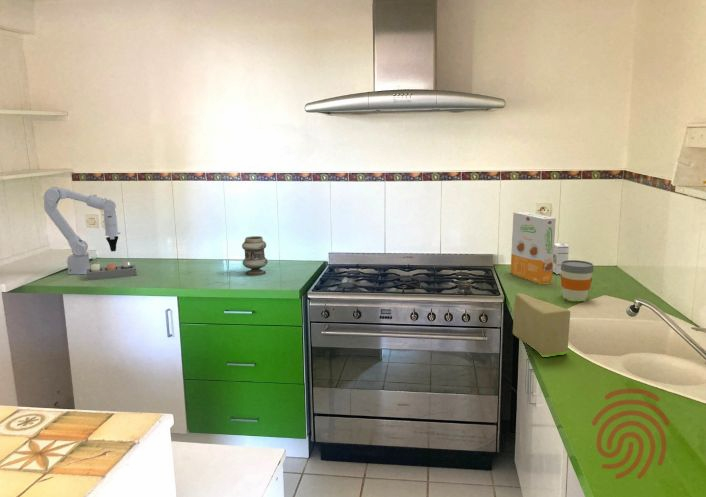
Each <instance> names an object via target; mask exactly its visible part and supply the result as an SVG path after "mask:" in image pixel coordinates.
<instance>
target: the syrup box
mask: <svg viewBox="0 0 706 497" xmlns="http://www.w3.org/2000/svg"><path fill="white" fill-rule="evenodd" d="M569 249H570V245H568V244H566V243H564V242H563V243H561V242H560V243H558V242H557V243H554V254H553V269H552V271H553V272H555V273H556V274H558V273H562V271H561V264H562V262H563V261H567V260H569V252H570V251H569ZM553 272H552V273H553ZM556 274H555V275H556Z"/></svg>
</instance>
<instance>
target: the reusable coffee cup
mask: <svg viewBox="0 0 706 497" xmlns="http://www.w3.org/2000/svg"><path fill="white" fill-rule="evenodd" d="M561 271H562V275H560V284H561V287H562V298H563V297H564V298H567V299H574V300H583V299H586V298H588V295H589V290H591V285H592V280H593V277H592V276H593V273H594V264H593V263H592V262H589V261H585V260H576V259H575V260H573V259H572V260H571V259H568V260H567V261H563V262H562V264H561ZM564 298H563V299H564ZM586 300H587V299H586Z"/></svg>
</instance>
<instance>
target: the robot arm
mask: <svg viewBox="0 0 706 497" xmlns="http://www.w3.org/2000/svg"><path fill="white" fill-rule="evenodd" d="M64 199H71V200H74V201H79V202H81V203H85V204H86V206H87V207H89V208H92V209H93V208H94V209H97V210H100V211H103V213H104V216H103V218H104V219H103V220H104V231H105V234H104V235H105V236H107V237H105V239H106V241H107V243H108V246H109V250H110V251H111V252H116V251H117V243H118V240H119V236H118V235H121V232H119V231H118V229H119V228H118V220H117V211H116V208H117V206H116V205H117V204H116V203H115V201H114V200H112V199H107V198H106V197H105V198H102V197H99V196H98V195H97V194H90V195H88V196H87V195H85V194H83V193H82V194H81V193H78V192H76V191H74V190H70V189H66V188H63V187H61V188H60V187H58V186H52V187H50V188H48V189H47V190H45V192H44V195H43V206H44V207H43V208H44V211H45V213H46V214H47V216H48V217H49V219H50V220H51V221H52V222H53V224H54V225H55V226H56V227H57V228H58V230H59V231H60V233H61V234H62V235H63V237H64V238H65V239H66V241H67V243H68V245H69V247H70V250H71V253H72V254H71V255H68V257H67V259H66V263H67V270H68V271H67V272H68V273H67V275H87V274H86V272H87V269H91V264H90V258H89V253H88V251H87V250H88V247H89V246H88V243H87V242H86V241H85V240H83V239H81V237H80V236H79V235H77V233H76V232H75V231H74V229H73V228H72V227H71V225H70V224H69V223H68V221H67V220H66V219H65V217H64V216H63V215H62V213H61V212H60V211H59V209H58V205H59V201H60V200H64Z"/></svg>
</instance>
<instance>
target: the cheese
mask: <svg viewBox="0 0 706 497" xmlns="http://www.w3.org/2000/svg"><path fill="white" fill-rule="evenodd" d="M514 296H515V297H514V304H513V324H512V335H513V336H515V337H516V338H517V339H519V340H520V341H521V342H522V343H524V344H525V345H527V344H526V343H528V344H530V345H531V346H533V347H534V348H535V349H536V350H537V351H538V352H539V353H541V354H542V355H547V354H553V353H559V352H564V351H567V350H569V349H568V348H569V335H570V322H571V320H570V319H571V311H570V310H569V309H568V308H565V307H561V306H558V305H556V304H553V303H552V302H551V303H550V302H547V301H544V300H541V299H539V298H535V297H532V296H530V295H527V294H526V293H516V294H515V295H514ZM567 352H568V351H567Z"/></svg>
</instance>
